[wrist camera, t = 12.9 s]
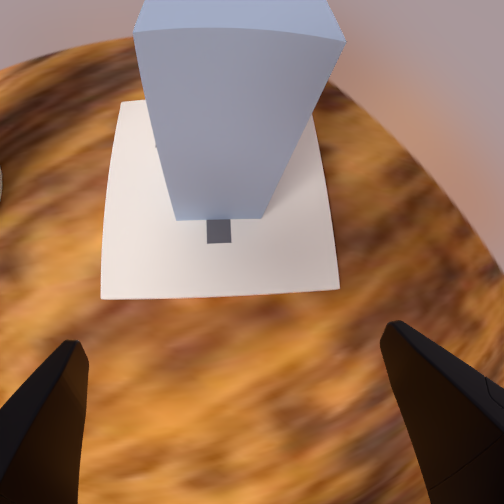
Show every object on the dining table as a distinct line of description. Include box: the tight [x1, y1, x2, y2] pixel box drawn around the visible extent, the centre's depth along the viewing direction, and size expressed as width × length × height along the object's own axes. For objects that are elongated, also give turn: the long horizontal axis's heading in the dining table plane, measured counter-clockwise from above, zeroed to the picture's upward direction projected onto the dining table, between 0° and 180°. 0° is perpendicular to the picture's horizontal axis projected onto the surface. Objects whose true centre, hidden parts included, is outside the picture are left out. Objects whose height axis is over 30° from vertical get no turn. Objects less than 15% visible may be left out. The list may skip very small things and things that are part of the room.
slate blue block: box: [133, 0, 346, 221], centre depth 12 cm, size 5×5×13 cm
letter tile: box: [101, 100, 340, 300], centre depth 19 cm, size 14×14×1 cm
